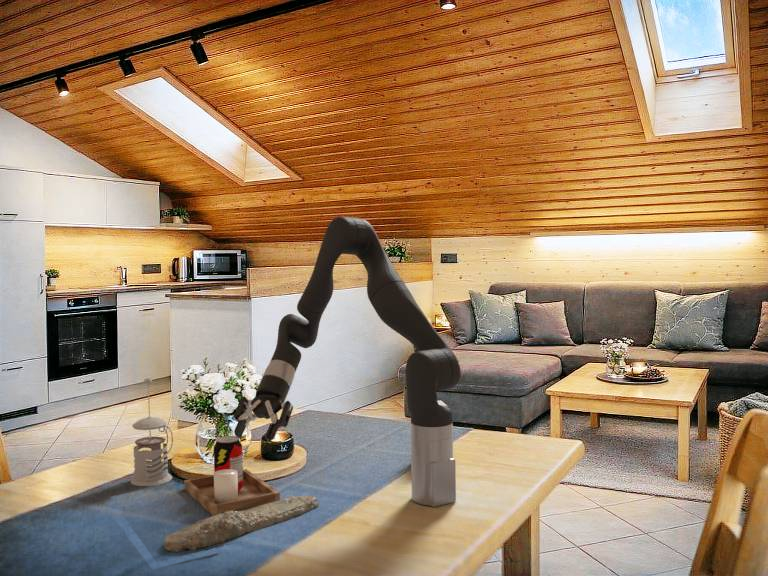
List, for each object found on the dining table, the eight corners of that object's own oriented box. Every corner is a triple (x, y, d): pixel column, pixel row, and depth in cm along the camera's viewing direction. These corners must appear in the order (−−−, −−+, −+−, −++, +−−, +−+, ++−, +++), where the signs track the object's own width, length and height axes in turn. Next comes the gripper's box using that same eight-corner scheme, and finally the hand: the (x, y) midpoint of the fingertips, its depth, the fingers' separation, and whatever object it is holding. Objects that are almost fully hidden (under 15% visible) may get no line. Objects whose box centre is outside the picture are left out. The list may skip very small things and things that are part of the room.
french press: (121, 482, 177) (117, 380, 176) (157, 469, 188) (153, 372, 186) (151, 488, 173) (147, 383, 171) (186, 474, 183) (182, 374, 182)
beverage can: (235, 484, 172) (233, 433, 171) (248, 491, 167) (246, 439, 166) (210, 490, 168) (208, 438, 167) (223, 497, 163) (221, 444, 162)
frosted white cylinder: (241, 505, 158) (241, 473, 157) (219, 510, 155) (218, 477, 154) (232, 499, 162) (232, 467, 161) (210, 503, 159) (210, 471, 159)
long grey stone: (330, 519, 156) (301, 510, 163) (330, 494, 156) (301, 486, 163) (180, 562, 132) (154, 549, 139) (180, 532, 132) (153, 521, 139)
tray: (279, 506, 160) (279, 492, 160) (212, 520, 152) (212, 506, 152) (246, 481, 177) (246, 469, 177) (184, 493, 169) (184, 480, 169)
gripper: (246, 372, 186) (220, 427, 176) (295, 375, 181) (271, 432, 171) (258, 388, 191) (234, 443, 182) (306, 392, 186) (284, 449, 176)
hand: (252, 438), depth 176 cm, fingers open, 8 cm apart
